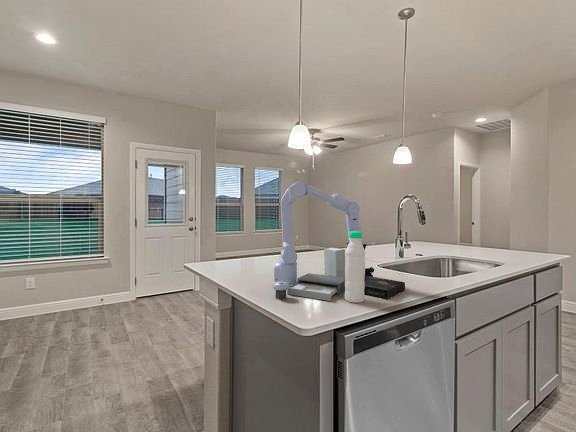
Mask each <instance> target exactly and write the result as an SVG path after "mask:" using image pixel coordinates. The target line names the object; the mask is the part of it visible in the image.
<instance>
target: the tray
mask: <svg viewBox="0 0 576 432" xmlns="http://www.w3.org/2000/svg"><path fill="white" fill-rule="evenodd" d="M337 292H338V288H337V287H329V286H322V285H315V284H308V283H300V284H298V285H295V286H293V287H289V289H287V290H286V295H289V296H298V297H303V298H310V299H315V300H316V299H317V300H322V301H326V302H327V301H329V302H331V301H332V296H334V295H335V294H336V293H337Z"/></svg>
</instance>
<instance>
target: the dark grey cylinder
mask: <svg viewBox="0 0 576 432" xmlns="http://www.w3.org/2000/svg"><path fill="white" fill-rule="evenodd" d="M275 299H277V300H285V299H287V290H275Z"/></svg>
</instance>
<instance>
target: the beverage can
mask: <svg viewBox="0 0 576 432" xmlns="http://www.w3.org/2000/svg"><path fill="white" fill-rule="evenodd" d="M374 272H375V268H374V267H373V266H371V267H368V268H367V267H365V276H372V277H374V274H373V273H374Z"/></svg>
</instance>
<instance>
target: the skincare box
mask: <svg viewBox="0 0 576 432" xmlns="http://www.w3.org/2000/svg"><path fill="white" fill-rule="evenodd" d="M345 251H346V249H344V248H337V247H329V248H328V247H327V248H324V249H323V254H324V255H323V257H324V262H323V263H324V275H327V276H336V277H344V278H345V259H346V254H345Z"/></svg>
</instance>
